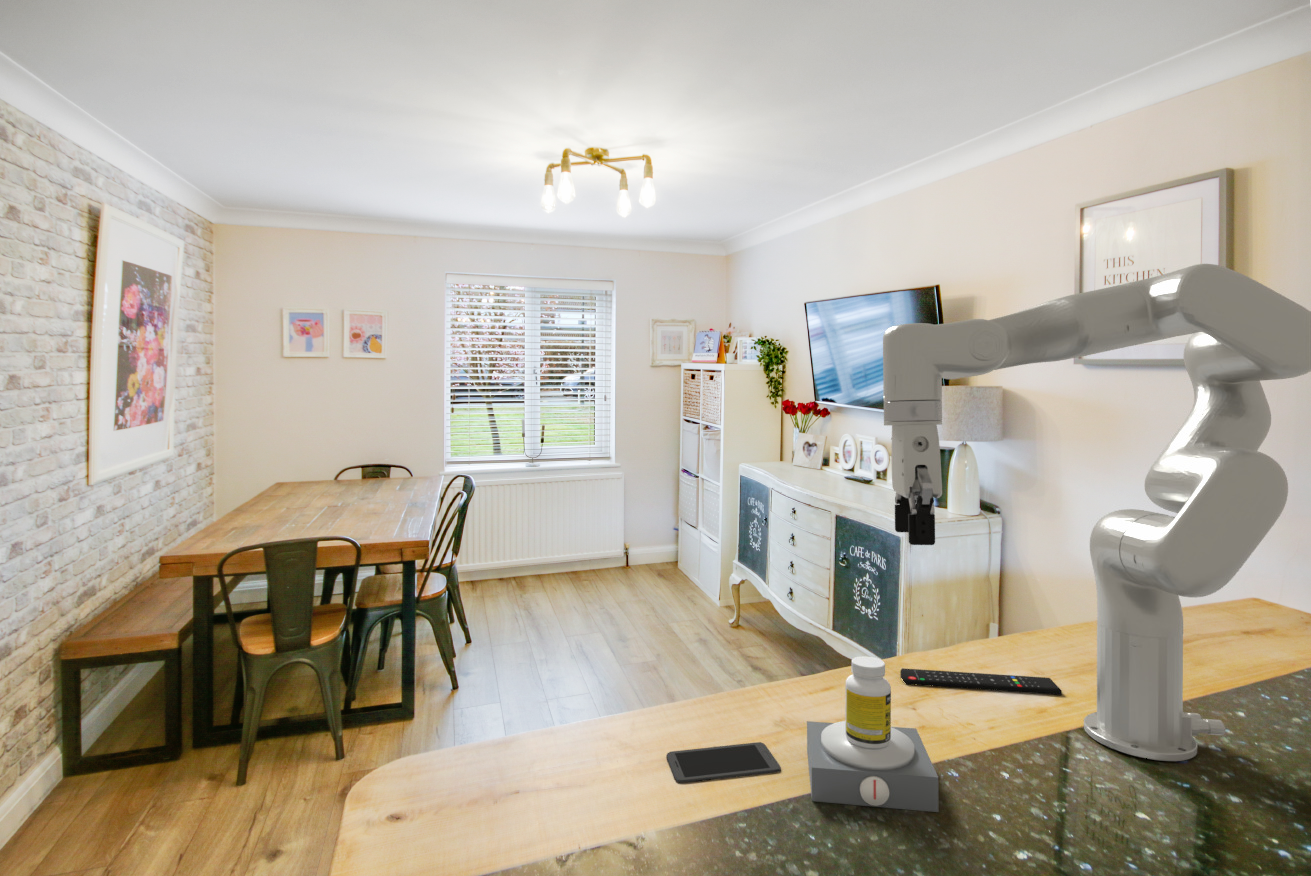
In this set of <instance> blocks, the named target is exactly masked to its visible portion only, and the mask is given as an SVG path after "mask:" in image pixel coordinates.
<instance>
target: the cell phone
mask: <svg viewBox="0 0 1311 876" xmlns="http://www.w3.org/2000/svg"><path fill="white" fill-rule="evenodd" d="M666 761H667V763H668V766H669V769H670V772H671V774H672V777H673V779H674V781H675V782H676V783H678V784H688V783H689V784H691V783H699V782H706V781H707V782H708V781H715V780H716V781H717V780H725V779H733V778H741V777H742V778H743V777H751V776H759V775H760V776H761V775H767V774H769V775H770V774H776V773H777V774H778V773H780V772H781V770H782V768H781V764H780V763H779V762H778V761H777V759H776V758H775V756H774V755H773V754H772V753H771V751H770V750H769V748H768V747H767V745H766V744H765V743H763V742H761V741H759V742H750V743H749V742H747V743H746V742H745V743H738V744H731V745H730V744H728V745H721V746H720V745H719V746H711V747H701V748H693V749H692V748H691V749H683V750H674V751H669V752H667V753H666Z"/></svg>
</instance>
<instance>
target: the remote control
mask: <svg viewBox="0 0 1311 876" xmlns="http://www.w3.org/2000/svg"><path fill="white" fill-rule="evenodd" d="M899 673H900V679H901V678H902V679H903V681H904V682H905V683H906V684H905V683H904V682H903V681H902V682H903V683H904V684H905V685H909V684H914V685H913V686H924V685H931V686H930V687H938V686H941V688H955V689H967V688H968V689H970V690H985V691H997V692H999V691H1001V692H1013V693H1025V694H1027V693H1028V694H1041V695H1055V696H1056V695H1057V696H1062V695H1063V693H1062V689H1061V688H1060V687H1059V686H1058V685H1057V684H1056V683H1055V682H1054V681H1053V680H1052V679H1051V677H1042V676H1041V677H1040V676H1026V675H1011V674H999V673H998V674H995V673H992V674H991V673H980V672H963V671H951V670H950V671H948V670H934V669H933V670H932V669H931V670H930V669H918V668H917V669H915V668H903V667H902V668H901V669H900V672H899ZM915 684H917V685H915ZM932 685H933V686H932ZM968 689H967V690H968Z"/></svg>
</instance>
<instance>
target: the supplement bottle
mask: <svg viewBox="0 0 1311 876" xmlns="http://www.w3.org/2000/svg"><path fill="white" fill-rule="evenodd" d="M851 673H852V674H850V675H849V676H847V678H846V680H845V689H844V690H845V710H844V711H845V715H844V716H845V717H844V718H845V720H844V721H845V735H846V738H847V739H848V740H849V741H850V742H851V743H853V744H855V745H857V746H860V747H864V748H870V749H878V748H883V747H886V746H887V745H889V743H890V739H891V727H892V726H891V725H892V722H891V721H892V718H891V715H892V713H891V712H892V709H891V705H892V689H891V686H892V685H891V684H890V682H889V681H888V679H886V678H885V675H886V663H885V661H884V660H882V659H880V658H878V657H872V656H865V655H864V656H863V655H862V656H855V657H853V658H852V659H851Z"/></svg>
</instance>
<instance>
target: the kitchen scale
mask: <svg viewBox="0 0 1311 876" xmlns="http://www.w3.org/2000/svg"><path fill="white" fill-rule="evenodd" d="M806 752H807V754H806V755H807V764H808V775H809V783H810V785H809V786H810V793H811V794H810V795H811V801H812V802H816V803H817V802H818V803H827V804H829V803H830V804H841V805H842V804H843V805H851V806H852V805H853V806H862V807H873V808H874V807H876V808H886V809H897V810H910V811H920V812H921V811H922V812H929V813H930V812H931V813H939V812H940V811H939V776H938V773H937V771H936V768H935V767H934V765H933V763H932V760H931V757H930V756H929V754H928V752H927V749H926V747H925V745H924V743H923V741H922V738H921V736H920V734H919V731H918V729H917V728H913V727H899V726H891V739H890V743H889V745H887V746H886V747H883V748H878V749H870V748H864V747H860V746H857V745H855V744H853V743H851V742H850V741H849V740H848V739H847V738H846V735H845V720H842V721H836V722H823V721H809V720H808V721H807V720H806Z"/></svg>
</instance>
